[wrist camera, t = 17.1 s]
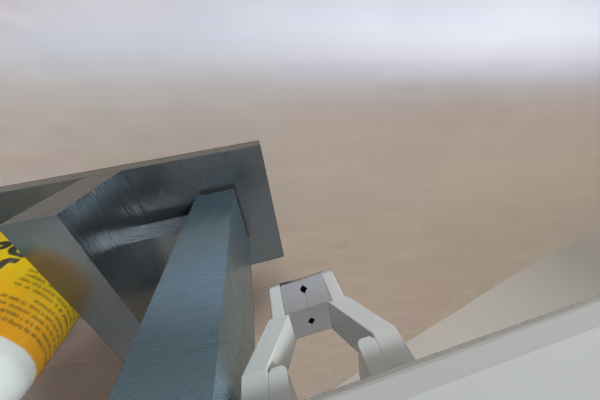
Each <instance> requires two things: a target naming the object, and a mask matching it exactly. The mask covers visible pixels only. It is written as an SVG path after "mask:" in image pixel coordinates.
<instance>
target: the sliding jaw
mask: <svg viewBox="0 0 600 400" xmlns="http://www.w3.org/2000/svg"><path fill="white" fill-rule="evenodd" d="M0 232H1V233H2V234H3V235H4V236H5V237H6V238H7V239H8V240H9V241H10V242H11V243H12V244H13V245H14V246H15V247H16V248H17V250H18V251H19V252H20V253H21V254H22V255H23V256H24V257H25V258H26V259H27V260H28V261H29V262H30V263H31V264H32V265H33V266H34V267H35V268H36V270H37V271H38V272H39V273H40V274H41V275H42V276H43V277H44V278H45V279H46V280H47V281H48V282H49V283H50V284H51V285H52V286H53V287H54V288H55V290H56V291H57V292H58V293H59V294H60V295H61V296H62V297H63V298H64V299H65V300H66V301H67V302H68V303H69V304H70V305H71V306H72V307H73V308H74V310H75V311H76V312H77V313H78V314H79V315H80V316H81V317H82V318H83V319H84V320H85V321H86V322H87V323H88V324H89V325H90V326H91V327H92V328H93V330H94V331H95V332H96V333H97V334H98V335H99V336H100V337H101V338H102V339H103V340H104V341H105V342H106V343H107V344H108V345H109V346H110V347H111V348H112V350H113V351H114V352H115V353H116V354H117V355H118V356H119V357H120V358H121V359H122V360H123V361H124V364H123V366H122V368H121V371H120V373H119V375H118V377H117V380H116V382H115V384H114V387H113V389H112V391H111V394H110V396H109V398H108V400H241V386H242V375H243V373H244V371H245V369H246V367H247V365H248V363H249V361H250V358H251V356H252V354H253V352H254V350H255V339H254V316H253V294H252V271H251V249H250V242H249V239H248V235H247V232H246V229H245V225H244V222H243V219H242V215H241V212H240V209H239V205H238V202H237V199H236V195H235V192H234V189H229V190H225V191H220V192H215V193H210V194H205V195H200V196H196V198H195V201H194V203H193V205H192V208H191V210H190V212H189V214H188V215H186V216H181V217H177V218H172V219H167V220H163V221H158V222H154V223H149V221H148V219H147V217H146V215H145V213H144V211H143V210H142V208H141V206H140V204H139V202H138V200H137V199H136V197H135V195H134V193H133V191H132V189H131V188H130V186H129V184H128V182H127V180H126V178H125V176H124V175H123V173H122V171H117V172H111V173H106V174H100V175H95V176H89V177H84V178H82V179H80V180H79V181H77V182H75V183H73V184H72V185H70V186H68V187H66V188H64V189H63V190H61V191H59V192H57V193H55V194H54V195H52V196H50V197H48V198H46V199H45V200H43V201H41V202H39V203H37V204H36V205H34V206H32V207H30V208H29V209H27V210H25V211H23V212H21V213H20V214H18V215H16V216H14V217H12V218H11V219H9V220H7V221H5V222H3V223H2V224H0Z"/></svg>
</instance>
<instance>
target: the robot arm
mask: <svg viewBox="0 0 600 400" xmlns="http://www.w3.org/2000/svg"><path fill="white" fill-rule="evenodd" d="M269 296H270V305H271V314H272V319H270V320H269V321H268V323H267V325H266V327H265V329H264V331H263V333H262V335H261V337H260V340H259V342H258V344H257V346H256V348H255V350H254V352H253V354H252V356H251V358H250V361H249V363H248V365H247V367H246V369H245V371H244V373H243V375H242V386H241V400H298V399H297V396H296V393H295V390H294V387H293V385H292V382H291V379H290V376H289V374H288V369H289V365H290V362H291V358H292V355H293V351H294V347H295V344H296V340H297V339H299V338H302V337H305V336H308V335H311V334H313V333H317V332H320V331H324V330H327V329H331V328H333V330H334V331H336V332H337V333H338V334H339V335H340V336H341V337H342V338H343V339H344V340H345V341H346V342H347V343H349V344H350V345H351V346H352V347H353V348H354V349H355V350H356V351H357V352H358V357H359V376H360V378H361V380H359V381H356V382H353V383H350V384H348V385H344V386H342V387H339V388H336V389H333V390H330V391H328V392H325V393H322V394H319V395H316V396H313V397H311V398H308V399H305V400H600V295H598V296H595V297H592V298H589V299H587V300H584V301H581V302H578V303H575V304H572V305H570V306H567V307H564V308H561V309H558V310H556V311H553V312H550V313H547V314H544V315H541V316H539V317H536V318H533V319H531V320H527V321H525V322H522V323H519V324H516V325H513V326H511V327H508V328H505V329H502V330H499V331H497V332H494V333H491V334H488V335H485V336H483V337H480V338H477V339H474V340H471V341H468V342H466V343H463V344H460V345H457V346H454V347H452V348H449V349H446V350H443V351H441V352H437V353H435V354H432V355H429V356H426V357H424V358H421V359H418V360H415V358H414V357H413V355H412V354H411V352H410V350H409V349H408V347H407V345H406V344H405V342H404V341H403V339H402V337H401V336H400V334H399V333H398V331H397V329H396V328H395V326H393V325H392V324H390V323H388V322H387V321H385V320H384V319H382V318H381V317H379V316H377V315H376V314H374V313H373V312H371V311H370V310H368V309H367V308H365V307H363V306H362V305H360V304H359V303H357V302H356V301H354V300H353V299H351V298H349V297H348V296H345V297H344V296H343V294H342V291H341V289H340V287H339V285H338V283H337V281H336V279H335V277H334V275H333V272H332V270H330V269H329V270H326V271H322V272H319V273H315V274H312V275H309V276H305V277H302V278H300V279H296V280H292V281H288V282H284V283H281V284H277V285H274V286H270V287H269Z"/></svg>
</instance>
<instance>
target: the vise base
mask: <svg viewBox="0 0 600 400" xmlns="http://www.w3.org/2000/svg"><path fill="white" fill-rule="evenodd" d="M117 171H122V173H123V175H124V176H125V178H126V180H127V182H128V184H129V186H130V188H131V189H132V191H133V193H134V195H135V197H136V199H137V200H138V202H139V204H140V206H141V208H142V210H143V211H144V213H145V215H146V217H147V219H148V221H149V223H154V222H158V221H163V220H167V219H172V218H177V217H181V216H186V215H188V214H189V212H190V210H191V208H192V205H193V203H194V201H195V198H196V196H200V195H205V194H210V193H215V192H220V191H225V190H229V189H234V192H235V195H236V199H237V202H238V205H239V209H240V212H241V215H242V219H243V222H244V225H245V229H246V232H247V235H248V239H249V242H250V249H251V265H252V264H256V263H260V262H264V261H268V260H272V259H276V258H280V257H283V256H284V254H283V249H282V245H281V240H280V235H279V231H278V226H277V222H276V217H275V212H274V208H273V203H272V198H271V194H270V189H269V184H268V180H267V175H266V170H265V166H264V161H263V156H262V152H261V147H260V143H259V141H253V142H248V143H242V144H237V145H231V146H226V147H220V148H214V149H209V150H203V151H198V152H192V153H187V154H181V155H176V156H170V157H164V158H159V159H153V160H148V161H142V162H137V163H131V164H126V165H120V166H115V167H109V168H103V169H98V170H92V171H87V172H81V173H76V174H70V175H65V176H59V177H53V178H48V179H42V180H37V181H31V182H26V183H20V184H15V185H9V186H4V187H0V224H2V223H3V222H5V221H7V220H9V219H11V218H12V217H14V216H16V215H18V214H20V213H21V212H23V211H25V210H27V209H29V208H30V207H32V206H34V205H36V204H37V203H39V202H41V201H43V200H45V199H46V198H48V197H50V196H52V195H54V194H55V193H57V192H59V191H61V190H63V189H64V188H66V187H68V186H70V185H72V184H73V183H75V182H77V181H79V180H80V179H82V178H84V177H89V176H95V175H100V174H106V173H111V172H117Z"/></svg>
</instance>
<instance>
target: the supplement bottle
mask: <svg viewBox="0 0 600 400" xmlns="http://www.w3.org/2000/svg"><path fill="white" fill-rule="evenodd" d="M79 318H80V315H79V314H78V313H77V312H76V311H75V310H74V308H73V307H72V306H71V305H70V304H69V303H68V302H67V301H66V300H65V299H64V298H63V297H62V296H61V295H60V294H59V293H58V292H57V291H56V290H55V288H54V287H53V286H52V285H51V284H50V283H49V282H48V281H47V280H46V279H45V278H44V277H43V276H42V275H41V274H40V273H39V272H38V271H37V270H36V268H35V267H34V266H33V265H32V264H31V263H30V262H29V261H28V260H27V259H26V258H25V257H24V256H23V255H22V254H21V253H20V252H19V251H18V250H17V248H16V247H15V246H14V245H13V244H12V243H11V242H10V241H9V240H8V239H7V238H6V237H5V236H4V235H3V234H2V233H1V232H0V400H20V399H21V398H22V397H23V396H24V395H25V394H26V392H27V391H28V390H29V389H30V387H31V386H32V385H33V383H34V382H35V381H36V379H37V378H38V377H39V375H40V374H41V372H42V371H43V370H44V368H45V367H46V365H47V364H48V362H49V361H50V359H51V358H52V356H53V355H54V353H55V352H56V350H57V349H58V348H59V346H60V345H61V343H62V342H63V341H64V339H65V338H66V336H67V335H68V333H69V332H70V330H71V329H72V327H73V326H74V325H75V323H76V322H77V320H78V319H79Z"/></svg>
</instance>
